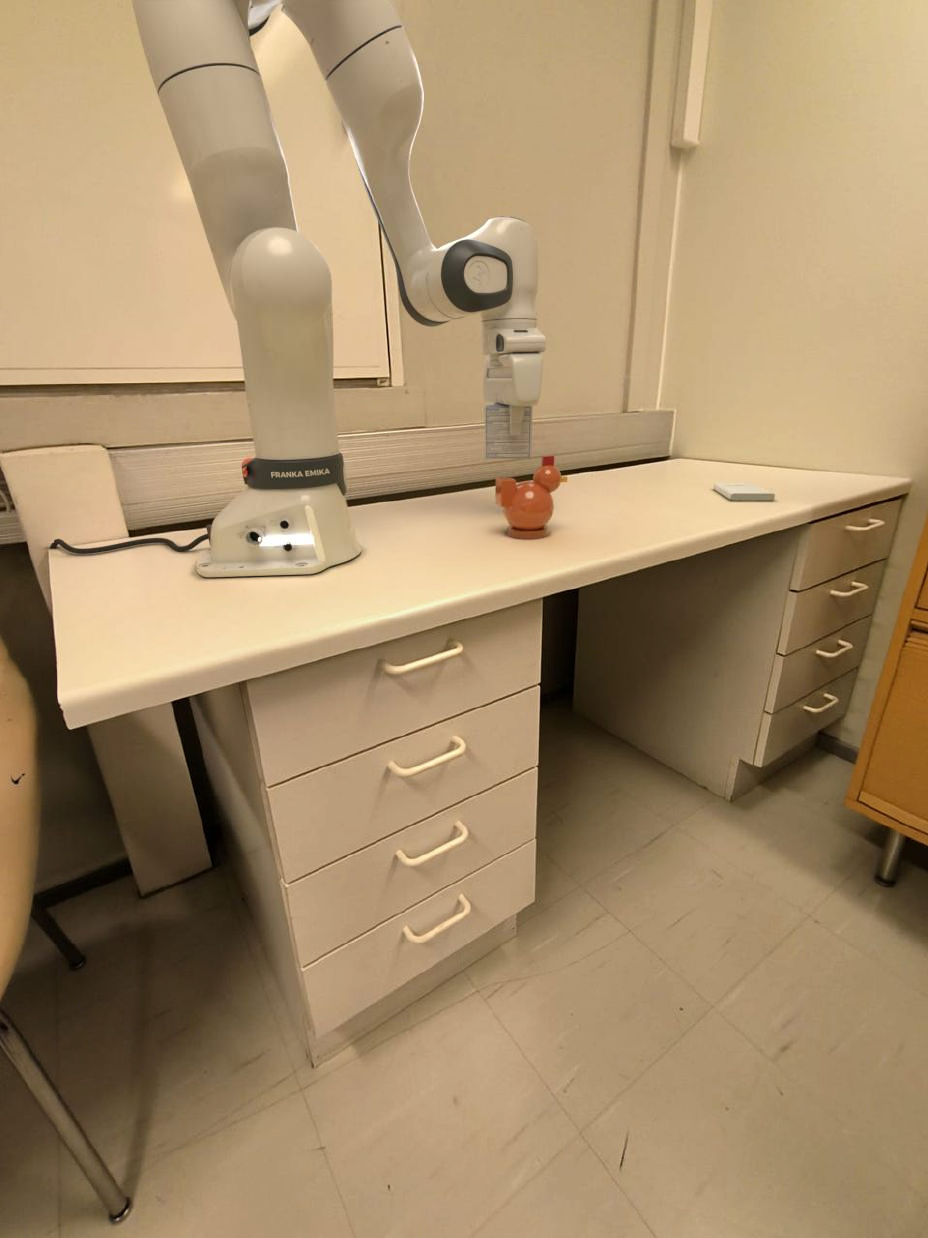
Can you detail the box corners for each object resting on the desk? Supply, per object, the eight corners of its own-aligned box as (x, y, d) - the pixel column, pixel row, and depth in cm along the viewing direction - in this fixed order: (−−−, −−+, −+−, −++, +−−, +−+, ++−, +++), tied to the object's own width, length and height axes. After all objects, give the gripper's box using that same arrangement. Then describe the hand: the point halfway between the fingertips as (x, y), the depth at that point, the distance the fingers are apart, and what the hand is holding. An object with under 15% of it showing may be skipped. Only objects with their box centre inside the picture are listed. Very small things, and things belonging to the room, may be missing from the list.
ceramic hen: (505, 542, 87) (506, 461, 82) (491, 530, 94) (491, 455, 89) (573, 536, 89) (577, 457, 84) (554, 525, 96) (557, 451, 91)
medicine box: (531, 456, 99) (532, 403, 95) (531, 459, 94) (532, 404, 91) (486, 456, 99) (485, 404, 96) (484, 460, 95) (484, 405, 92)
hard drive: (729, 501, 111) (712, 489, 122) (773, 501, 110) (752, 489, 121) (731, 493, 110) (713, 482, 122) (775, 493, 109) (754, 482, 120)
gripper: (473, 345, 98) (475, 429, 104) (509, 337, 80) (508, 439, 86) (508, 345, 100) (507, 427, 105) (550, 337, 81) (547, 437, 87)
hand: (508, 433), depth 95 cm, fingers closed on medicine box, 5 cm apart
